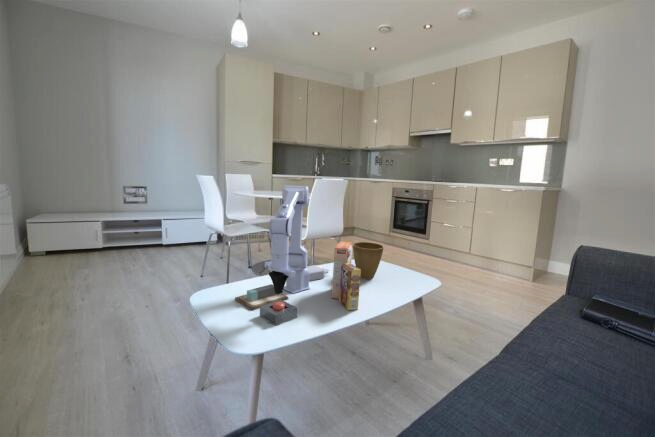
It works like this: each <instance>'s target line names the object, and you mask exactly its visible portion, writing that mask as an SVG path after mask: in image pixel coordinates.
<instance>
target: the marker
mask: <svg viewBox="0 0 655 437" xmlns="http://www.w3.org/2000/svg"><path fill="white" fill-rule="evenodd" d="M246 294H247V299H248V300H250V301H255V300H258V299H262V298H265V297H268V296H272V295H275V294H276V293H275V290H274V286H273V283H272V284H267V285H263V286H259V287H255V288H251V289H248V290H246Z"/></svg>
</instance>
